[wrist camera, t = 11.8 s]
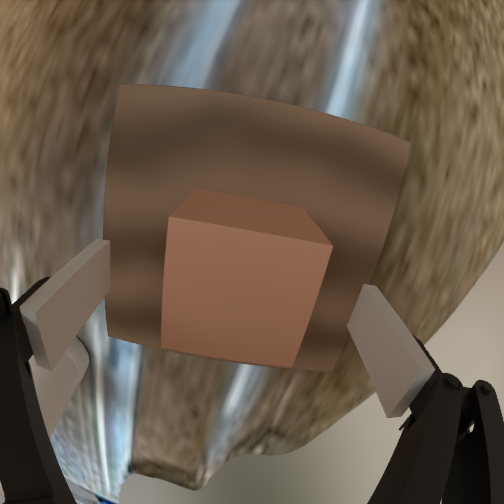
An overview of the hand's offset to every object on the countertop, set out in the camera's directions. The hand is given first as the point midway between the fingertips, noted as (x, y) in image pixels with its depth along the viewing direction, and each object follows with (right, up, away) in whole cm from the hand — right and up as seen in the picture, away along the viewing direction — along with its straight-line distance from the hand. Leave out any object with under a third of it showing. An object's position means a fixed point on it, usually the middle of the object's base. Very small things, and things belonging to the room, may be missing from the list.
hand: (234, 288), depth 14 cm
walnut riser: (0, +4, +11) cm, 12 cm away
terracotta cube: (0, +2, +6) cm, 6 cm away
